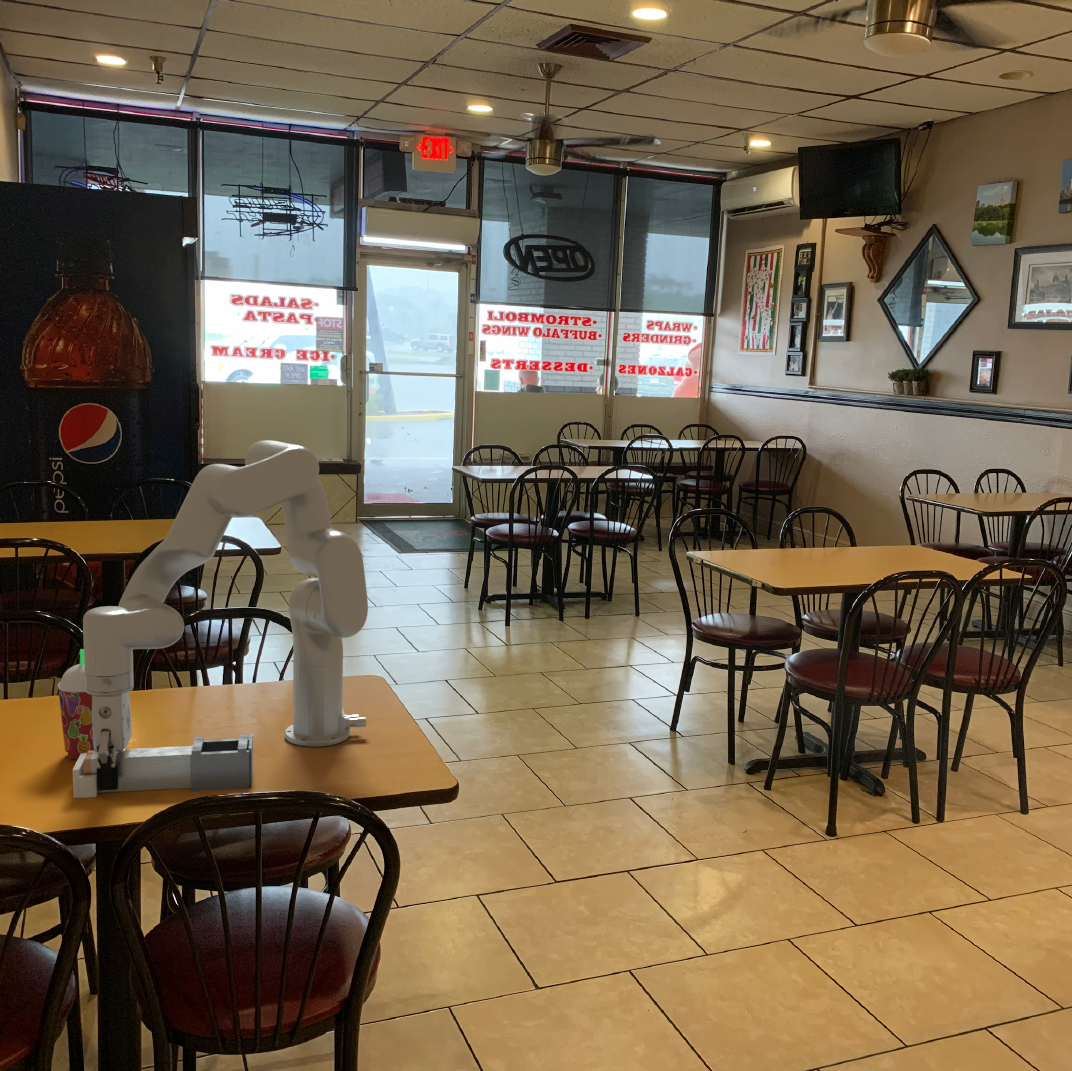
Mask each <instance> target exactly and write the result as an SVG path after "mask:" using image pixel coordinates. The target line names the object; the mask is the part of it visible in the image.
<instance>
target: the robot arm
mask: <svg viewBox="0 0 1072 1071" xmlns="http://www.w3.org/2000/svg"><path fill="white" fill-rule="evenodd" d="M244 464H245V465H243V466H234V465H229V464H225V463H213V464H208V465H206V466H204V467H203V468H201V470H200V471H199V472H198V474H197V475H196V476H195V477H194V480H193V482H192V484H191V486H190V487H189V490H188V492H187V494H186V497H185V498H184V501H183V503H182V504H181V506H180V508H179V511H178V513H177V514H176V516H175V518H174V520H173V523H172V525H171V526H170V529H169V530H168V532H167V534H166V536H165V538H164V539H163V540H162V541H161V542H160V543H159V544H158V545H157V546H156V547H155V548H154V549H153V550H152V551H151V552H150V553H149V555H148V556H147V557H145V558H144V559H143V561H142V562H141V563H140V564H139V566H138V567H137V568H136V569H135V571H134V573H133V574H132V576H131V578H130V580H129V581H128V583H127V585H126V588H125V590H124V592H123V593H122V596H121V598H120V601H119V602H118V606H116V605H114V606H113V605H107V606H98V607H94V608H92V609H89V610H87V611H86V612H85V613H84V615H83V619H82V627H83V628H82V629H83V630H82V632H83V633H82V634H83V649H84V667H85V692H86V693H88V694H91V695H92V727H93V746H94V750H95V751H96V752H97V753H98V759H97V789H98V790H99V791H101V790H116V789H118V766H116V754H117V750H120V751H124V750H125V749H127V747H128V744H129V742H130V740H131V737H132V732H133V730H132V729H133V728H132V715H131V714H132V712H131V698H130V691H132V690H133V689H134V688H135V687H134V652H133V650H152V649H153V650H157V649H159V650H160V649H164V648H168V647H171V646H173V645H174V644H175V643H177V642H178V641H179V640H180V639H181V638H182V636H183V633H184V630H185V623H184V618H183V617H182V615H181V614H180V612H179V611H177V610H176V609H175V608H173V607H172V606H170V605H168V604H166V603H164V602H165V600H166V599H167V597H168V594H169V593H170V591H171V589H172V588H173V586H174V585H175V584H176V582H177V581H178V580H179V579H180V578H181V577H182V576H184V575H185V574H186V573H187V572H189V571H192V570H193V569H195V568H197V567H198V568H199V567H200V566H202V565H203V564H205V563H208V562H209V561H211V560H212V559H213V557H214V556H215V554H216V552H217V550H218V547H219V545H220V543H221V541H222V539H223V536H224V534H225V533H226V530H227V528H228V526H229V525H230V523H231V521H232V518H233V517H236V518H244V517H245V518H246V517H249V516H253V515H256V514H258V513H260V512H263V511H266V510H269V509H270V508H273V507H275V506H278V505H279V504H280V507H281V510H282V515H283V520H284V528H285V534H286V544H287V550H288V556H289V561H290V563H291V565H292V567H293V568H294V569H295V570H297V571H298V572H300V573H302V574H305V575H307V576H311V578H306V579H303V580H301V581H300V582H298V583H297V584H296V585H295V586H294V587H293V589H292V591H291V592H290V595H289V600H288V613H289V620H290V625H291V630H292V633H291V634H292V644H293V645H292V646H293V649H292V650H293V651H292V652H293V653H292V654H293V655H292V656H293V660H292V663H293V664H292V668H293V669H292V675H293V676H292V685H293V686H292V689H293V692H292V696H293V697H292V698H293V700H292V717H293V718H292V724H290V725H289V726H288V727H287V728H286V729H285V731H284V737H285V740H287V742H289V743H291V744H293V745H297V746H300V747H301V746H302V747H310V748H311V747H313V748H315V747H317V748H319V747H327V746H328V747H329V746H333V745H337V744H340V743H342V742H344V741H346V740H348V738H349V737H350V736H351V728H366V727H367V718H366V717H362V716H361V717H359V714H352V715H351V714H349V715H348V714H347V713H345V712H344V711H345V710H344V707H343V701H344V700H343V699H344V698H343V695H344V694H343V690H344V689H343V687H344V686H343V684H344V683H343V681H344V646H343V639H346V638H347V639H348V638H351V637H353V636H355V635H357V634H358V633H359V632H361V630H362V629H363V627H364V626H365V624H366V621H367V619H368V618H367V617H368V612H369V601H368V591H367V590H368V589H367V583H366V575H365V565H364V559H363V553H362V551H361V549H360V546H359V545H358V543H357V541H356V540H355V539H354V538H353V537H351V536H350V535H349V534H347V533H345V532H343V531H339V530H336V529H335V528H334V527H333V525H332V519H331V514H330V508H329V502H328V496H327V493H326V491H325V488H324V486H323V484H322V481H321V480H320V478H319V473H320V464H319V460H318V458H317V456H316V455H315V454H314V453H313V451H311V450H310V449H308V448H307V447H305V446H302V445H298V444H294V443H288V442H287V443H286V442H283V441H277V440H272V439H271V440H269V439H268V440H267V439H265V440H259V441H256V442H254V443H252V444H251V445H250V446H249V447H248V448H247V450H246V453H245V457H244ZM109 753H112V758H111V757H110V756H108V754H109Z"/></svg>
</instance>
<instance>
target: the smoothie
mask: <svg viewBox="0 0 1072 1071" xmlns="http://www.w3.org/2000/svg"><path fill="white" fill-rule="evenodd" d="M79 653H80V655H79V656H80V657H79V658H80V663H78V664H74V665H73V666H71V667H69V668H68V669H67V670H66V671H65V672H64V673H63V675H62V677H61V680H60V681H59V682H58V684H57V688H58V697H59V709H60V717H61V725H62V726H61V727H62V733H63V735H62V736H63V744H64V751H65V752H66V753H67V756H68V758H69V759H72V760H74V761H75V760H76V761H77V760H78V758H79V756H80V754H83V753H88V751H95V750H94V746H93V727H92V695H91V694H88V693H86V692H85V667H84V648H83V649H82V648H81V649H80V650H79Z"/></svg>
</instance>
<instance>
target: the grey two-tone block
mask: <svg viewBox="0 0 1072 1071" xmlns="http://www.w3.org/2000/svg"><path fill="white" fill-rule="evenodd" d="M192 748H193V745H186V746H185V745H183V746H181V745H180V746H179V745H178V746H163V747H162V746H161V747H142V748H138V747H137V748H126V749H125V750H124V751H120V750H117V754H116V766H118V789H116V790H101V791H99V790H98V789H97V794H98V793H99V794H101V793H117V792H118V793H119V792H136V791H156V790H169V789H189V788H190V789H191V770H190V754H191V753H192ZM108 756H110V757H111V758H112V753H109V754H108ZM97 759H98V753H97V752H96V751H88V753H87V755H86V757H85V759H84V769H85V775H97Z"/></svg>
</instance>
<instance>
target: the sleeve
mask: <svg viewBox="0 0 1072 1071" xmlns="http://www.w3.org/2000/svg"><path fill="white" fill-rule="evenodd" d="M253 737H254V734H253V733H250V734H248V733H243V734H238V737H237V738H219V739H217V738H216V739H215V738H214V739H205V736H204V735H203V736H194V739H193V741H192V746H193V748H192V753H191V754H190V770H191V788H190V792H194V791H195V792H199V791H200V792H201V791H216V790H218V791H219V790H232V789H233V790H235V789H236V790H237V789H252V787H253V775H254V773H253V772H254V751H253V750H254V741H253V740H254V738H253Z"/></svg>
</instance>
